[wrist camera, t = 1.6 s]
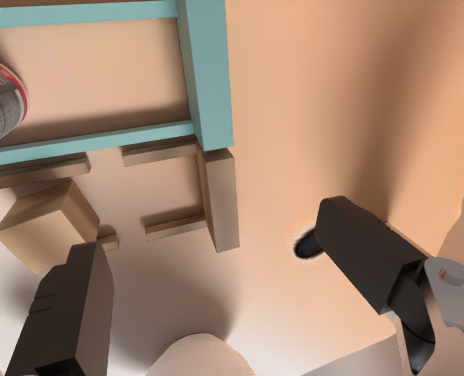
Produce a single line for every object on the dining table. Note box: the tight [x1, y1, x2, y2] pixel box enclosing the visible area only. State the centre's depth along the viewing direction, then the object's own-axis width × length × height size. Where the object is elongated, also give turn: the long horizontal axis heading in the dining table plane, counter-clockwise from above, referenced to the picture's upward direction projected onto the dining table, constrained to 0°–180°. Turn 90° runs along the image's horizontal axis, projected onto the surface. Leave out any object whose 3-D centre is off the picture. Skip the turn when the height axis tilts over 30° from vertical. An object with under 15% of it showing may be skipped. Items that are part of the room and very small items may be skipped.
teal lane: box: [0, 0, 234, 165], centre depth 18 cm, size 22×10×6 cm, turn 94°
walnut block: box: [0, 180, 100, 275], centre depth 23 cm, size 5×5×5 cm
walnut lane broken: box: [0, 139, 240, 253], centre depth 24 cm, size 20×10×6 cm, turn 94°
